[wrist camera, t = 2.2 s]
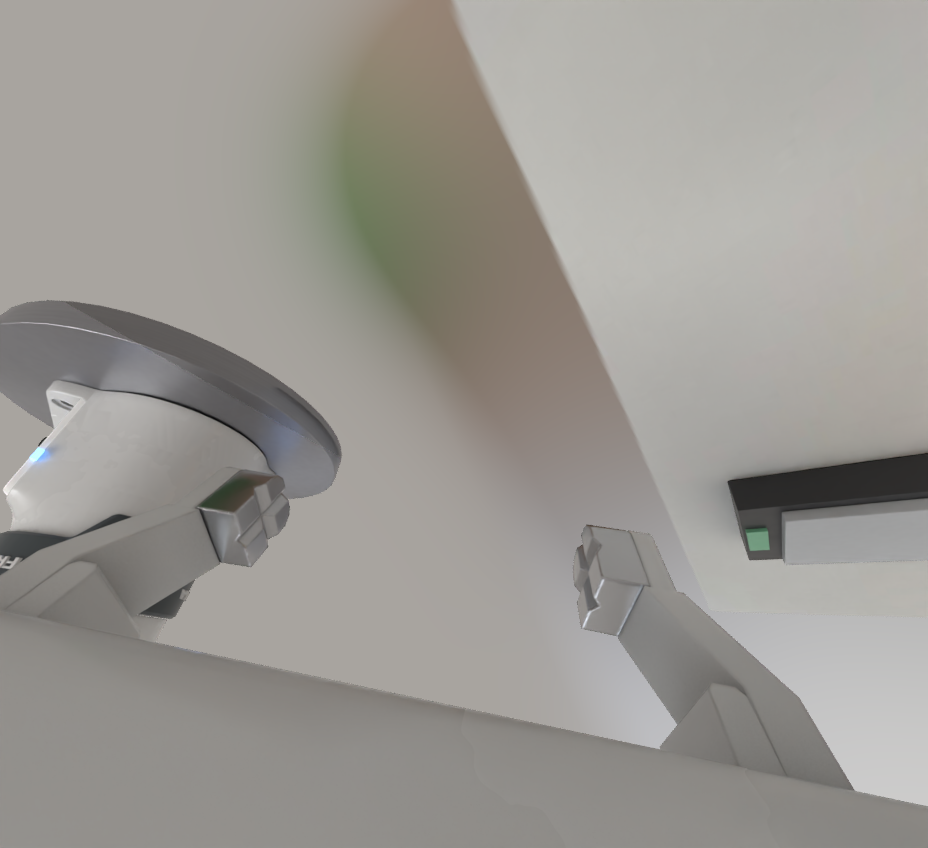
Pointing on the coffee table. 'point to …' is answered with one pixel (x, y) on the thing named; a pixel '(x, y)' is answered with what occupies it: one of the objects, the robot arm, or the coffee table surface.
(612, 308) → the coffee table surface
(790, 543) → the scale
